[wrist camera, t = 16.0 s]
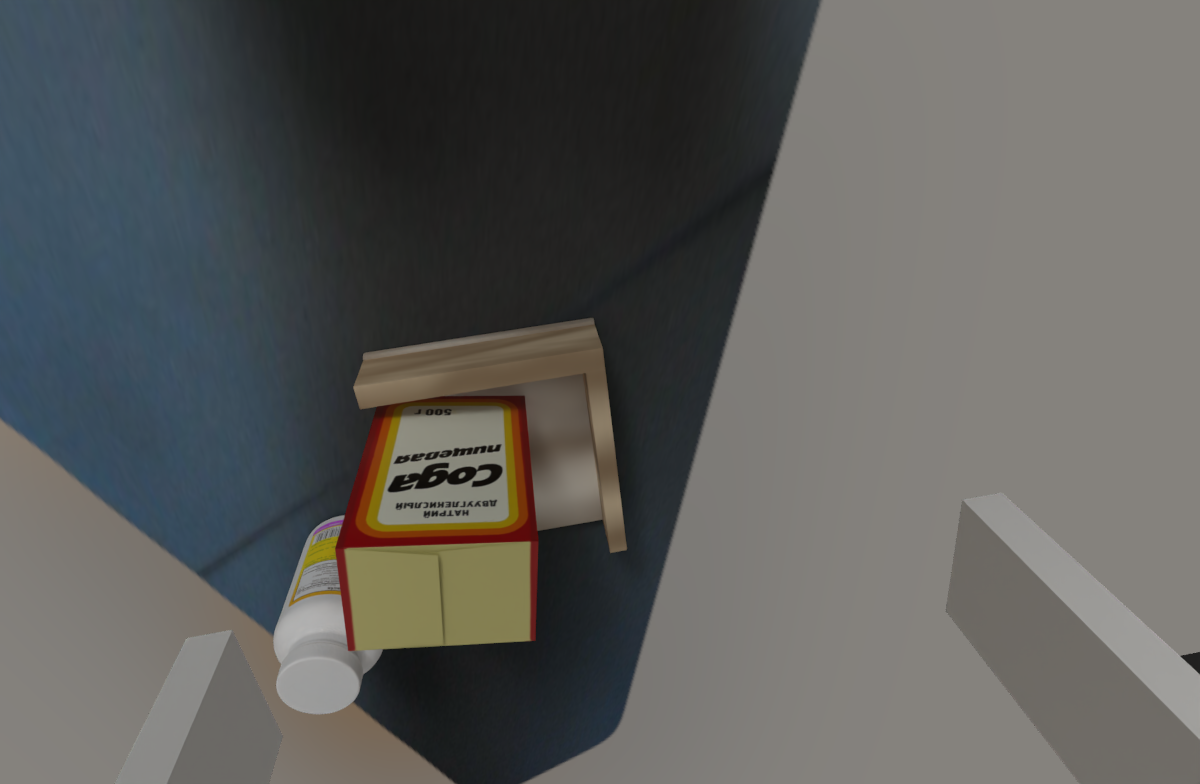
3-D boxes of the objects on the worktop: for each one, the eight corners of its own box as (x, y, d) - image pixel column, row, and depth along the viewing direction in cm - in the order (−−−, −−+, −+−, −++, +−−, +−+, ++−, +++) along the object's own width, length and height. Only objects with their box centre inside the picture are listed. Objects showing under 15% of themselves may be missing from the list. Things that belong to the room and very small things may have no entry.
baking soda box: (524, 395, 49) (538, 546, 35) (523, 476, 52) (535, 646, 38) (380, 396, 48) (333, 553, 34) (386, 479, 51) (346, 656, 36)
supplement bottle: (370, 595, 56) (339, 741, 44) (289, 558, 53) (234, 703, 42) (418, 535, 54) (398, 672, 42) (336, 495, 51) (293, 629, 40)
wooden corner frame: (363, 352, 47) (352, 383, 43) (593, 317, 48) (602, 344, 44) (420, 546, 54) (414, 587, 50) (617, 512, 55) (627, 549, 51)
